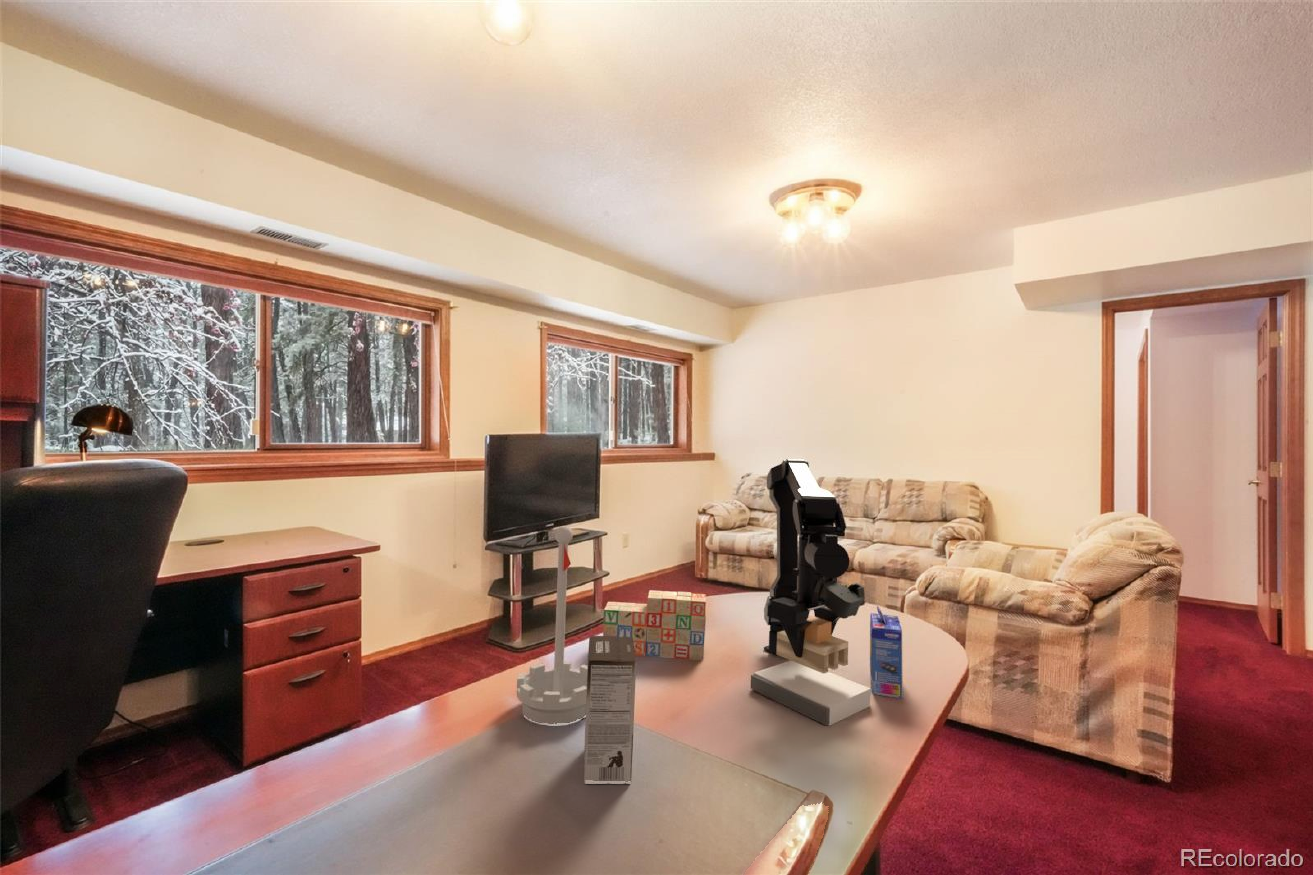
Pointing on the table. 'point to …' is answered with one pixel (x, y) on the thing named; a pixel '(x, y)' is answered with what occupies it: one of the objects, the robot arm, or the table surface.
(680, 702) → the table surface
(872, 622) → the ink cartridge box
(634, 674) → the coffee box
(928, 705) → the table surface
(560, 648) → the flag stand
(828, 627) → the tan cardboard cube
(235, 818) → the table surface
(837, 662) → the pallet
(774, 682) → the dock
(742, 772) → the table surface
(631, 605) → the stack of blocks
